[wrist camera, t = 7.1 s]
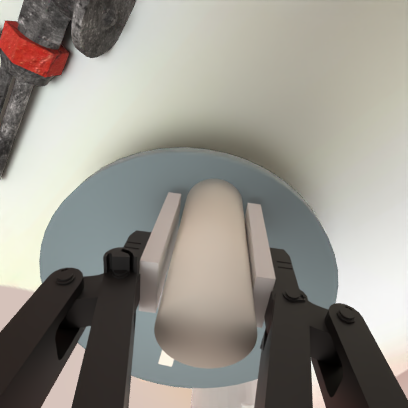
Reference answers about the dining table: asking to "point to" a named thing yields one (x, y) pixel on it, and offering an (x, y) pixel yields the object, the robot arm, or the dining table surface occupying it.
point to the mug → (225, 396)
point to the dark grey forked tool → (50, 49)
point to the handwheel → (193, 256)
